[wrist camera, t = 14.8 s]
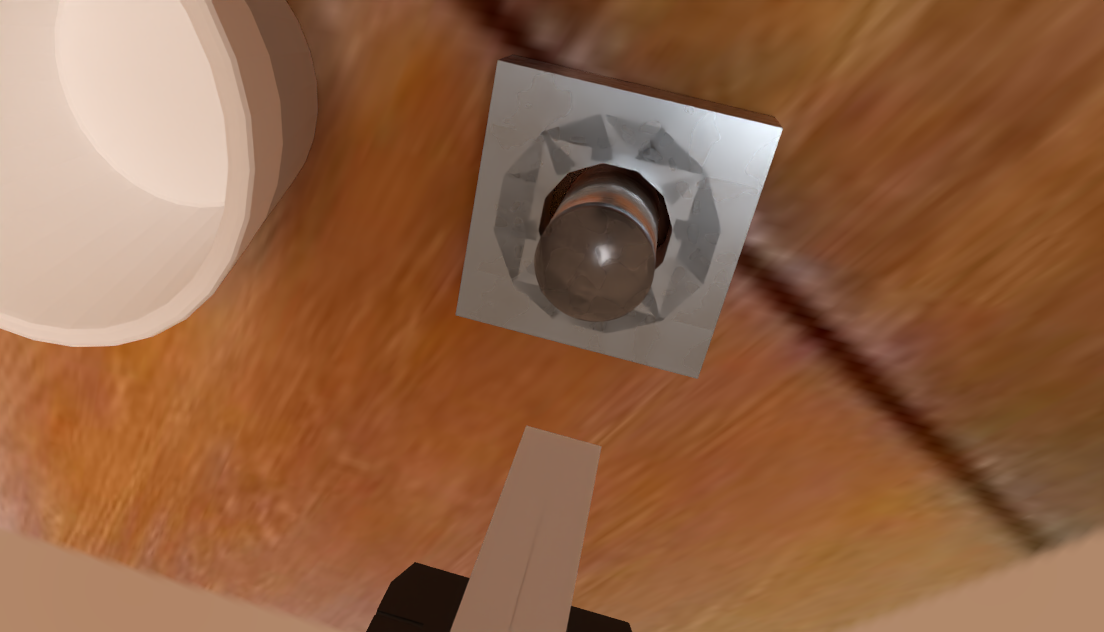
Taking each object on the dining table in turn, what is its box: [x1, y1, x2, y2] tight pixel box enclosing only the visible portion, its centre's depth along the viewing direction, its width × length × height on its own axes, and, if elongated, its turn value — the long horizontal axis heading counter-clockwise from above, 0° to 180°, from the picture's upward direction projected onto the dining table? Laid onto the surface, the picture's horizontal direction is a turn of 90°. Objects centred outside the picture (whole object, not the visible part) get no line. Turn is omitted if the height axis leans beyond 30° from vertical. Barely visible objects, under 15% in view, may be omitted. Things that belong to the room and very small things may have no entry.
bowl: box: [0, 0, 318, 347], centre depth 31 cm, size 19×19×11 cm
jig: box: [456, 55, 783, 379], centre depth 34 cm, size 12×12×3 cm
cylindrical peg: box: [534, 163, 660, 322], centre depth 32 cm, size 5×5×8 cm
